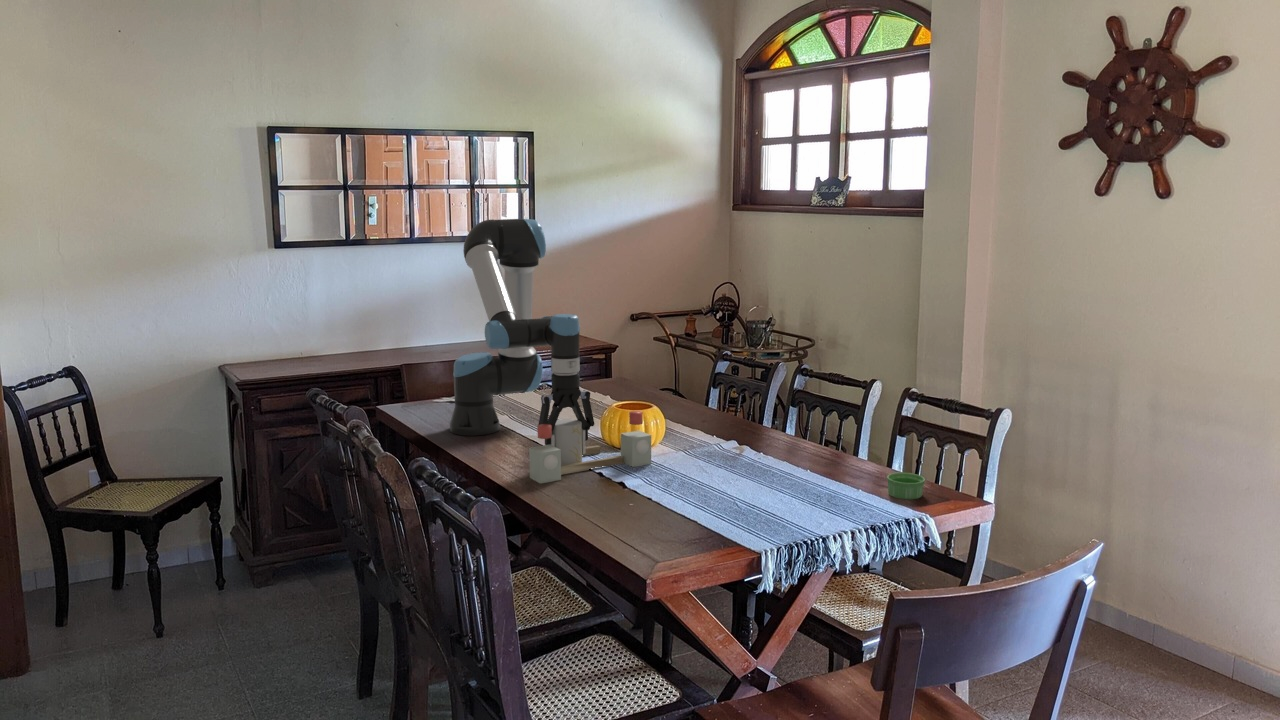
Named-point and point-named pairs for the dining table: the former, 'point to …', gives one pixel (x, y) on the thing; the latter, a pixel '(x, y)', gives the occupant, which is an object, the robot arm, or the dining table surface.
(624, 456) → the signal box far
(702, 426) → the dining table surface
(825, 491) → the dining table surface
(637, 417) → the block
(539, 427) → the block
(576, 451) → the grey upright cylinder
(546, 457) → the block
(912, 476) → the ramekin
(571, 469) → the channel
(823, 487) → the dining table surface
